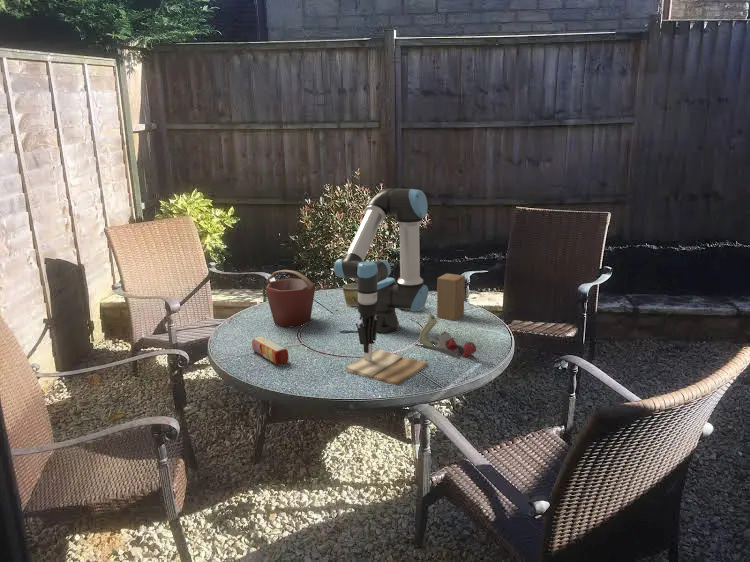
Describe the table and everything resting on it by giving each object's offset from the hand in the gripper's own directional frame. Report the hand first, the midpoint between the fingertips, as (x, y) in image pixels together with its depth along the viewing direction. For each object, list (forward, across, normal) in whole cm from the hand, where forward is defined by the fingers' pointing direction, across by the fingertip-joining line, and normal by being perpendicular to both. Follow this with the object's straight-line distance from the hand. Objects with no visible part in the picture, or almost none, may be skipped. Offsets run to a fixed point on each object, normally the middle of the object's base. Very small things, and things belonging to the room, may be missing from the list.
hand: (368, 359), depth 248 cm
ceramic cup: (+3, +64, +53) cm, 83 cm away
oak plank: (+3, 0, -15) cm, 16 cm away
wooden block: (+2, +72, +1) cm, 72 cm away
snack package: (+4, -14, +40) cm, 42 cm away
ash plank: (+2, 0, -3) cm, 4 cm away
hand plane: (+3, +30, -18) cm, 35 cm away
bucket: (+3, +26, +62) cm, 67 cm away
